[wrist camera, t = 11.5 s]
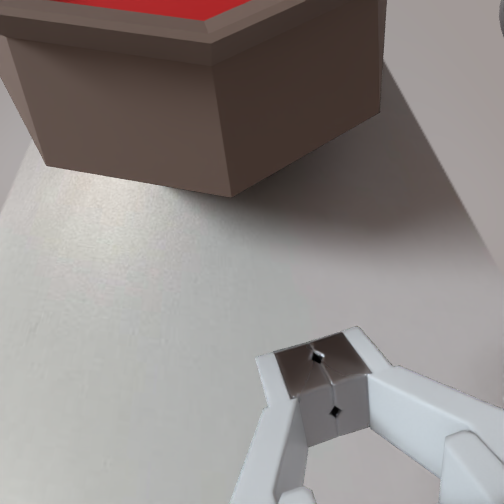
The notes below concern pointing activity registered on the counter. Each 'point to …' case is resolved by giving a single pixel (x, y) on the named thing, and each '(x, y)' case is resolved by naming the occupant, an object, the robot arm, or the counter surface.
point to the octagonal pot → (190, 83)
